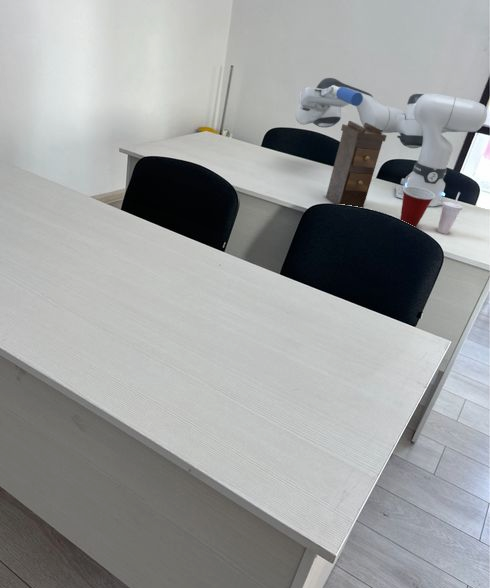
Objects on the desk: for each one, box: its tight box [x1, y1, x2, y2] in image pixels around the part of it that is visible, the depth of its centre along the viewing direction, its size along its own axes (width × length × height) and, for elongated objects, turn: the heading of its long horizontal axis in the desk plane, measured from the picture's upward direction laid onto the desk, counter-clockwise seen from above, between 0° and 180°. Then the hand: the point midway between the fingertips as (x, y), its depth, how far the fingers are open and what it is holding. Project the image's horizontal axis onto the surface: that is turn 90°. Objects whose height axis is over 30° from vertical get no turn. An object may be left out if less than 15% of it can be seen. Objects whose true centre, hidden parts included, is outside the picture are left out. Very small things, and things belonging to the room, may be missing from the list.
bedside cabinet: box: [325, 120, 388, 208], centre depth 206 cm, size 14×11×28 cm
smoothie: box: [436, 191, 463, 235], centre depth 198 cm, size 6×6×14 cm
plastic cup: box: [399, 186, 435, 228], centre depth 199 cm, size 11×11×12 cm
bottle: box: [331, 85, 363, 107], centre depth 211 cm, size 20×4×4 cm, turn 15°
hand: (336, 89), depth 216 cm, fingers closed on bottle, 3 cm apart
